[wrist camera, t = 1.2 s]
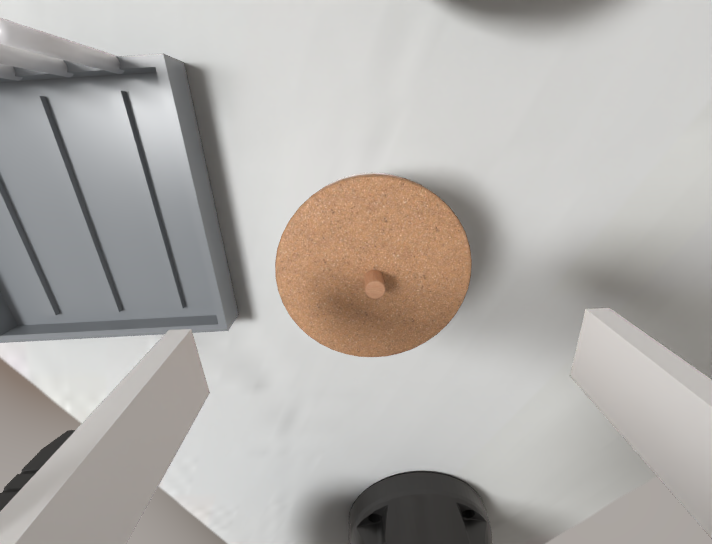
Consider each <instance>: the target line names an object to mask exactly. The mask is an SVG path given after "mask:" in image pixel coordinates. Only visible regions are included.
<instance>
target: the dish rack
mask: <svg viewBox="0 0 712 544" xmlns="http://www.w3.org/2000/svg"><path fill="white" fill-rule="evenodd" d="M238 315H239V314H238V310H237V305H236V300H235V296H234V291H233V287H232V282H231V277H230V273H229V268H228V264H227V259H226V254H225V250H224V245H223V240H222V236H221V231H220V227H219V222H218V217H217V213H216V208H215V203H214V199H213V194H212V190H211V185H210V180H209V176H208V171H207V166H206V162H205V157H204V153H203V148H202V143H201V139H200V134H199V129H198V125H197V120H196V116H195V111H194V106H193V102H192V97H191V92H190V88H189V83H188V79H187V74H186V69H185V65H184V62H182V61H179V60H177V59H175V58H172V57H170V56H168V55H165V54H149V55H134V56H119V57H118V56H115V55H112V54H109V53H106V52H103V51H100V50H97V49H94V48H91V47H88V46H85V45H82V44H79V43H76V42H73V41H70V40H67V39H64V38H61V37H58V36H54V35H51V34H48V33H45V32H42V31H39V30H36V29H33V28H30V27H27V26H24V25H21V24H18V23H15V22H12V21H9V20H6V19H3V18H0V343H5V342H25V341H44V340H63V339H82V338H101V337H120V336H139V335H158V334H166V332H167V331H168V330H181V329H191V330H192V333H196V332H215V331H228V330H229V329H230V327H231V325H232V324H233V322H234V321H235V319H236V318H237V316H238Z"/></svg>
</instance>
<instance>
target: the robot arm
mask: <svg viewBox="0 0 712 544" xmlns="http://www.w3.org/2000/svg"><path fill="white" fill-rule="evenodd" d="M570 377H571V378H572V379H573V380H574V381H575V383H576V384H577V385H578V386H579V387H580V388H581V389H582V391H583V392H584V393H585V394H586V395H587V396H588V397H589V399H590V400H591V401H592V402H593V403H594V404H595V405H596V407H597V408H598V409H599V410H600V411H601V412H602V414H603V415H604V416H605V417H606V418H607V419H608V420H609V422H610V423H611V424H612V425H613V426H614V427H615V428H616V430H617V431H618V432H619V433H620V434H621V435H622V436H623V438H624V439H625V440H626V441H627V442H628V443H629V445H630V446H631V447H632V448H633V449H634V450H635V451H636V453H637V454H638V455H639V456H640V457H641V458H642V459H643V461H644V462H645V463H646V464H647V465H648V466H649V467H650V469H651V470H652V471H653V472H654V473H655V474H656V476H657V477H658V478H659V479H660V480H661V481H662V482H663V483H664V485H665V486H666V487H667V488H668V489H669V490H670V492H671V493H672V494H673V495H674V496H675V497H676V498H677V500H678V501H679V502H680V503H681V504H682V505H683V507H684V508H685V509H686V510H687V511H688V512H689V513H690V514H691V516H692V517H693V518H694V519H695V520H696V521H697V523H698V524H699V525H700V526H701V527H702V528H703V529H704V531H705V532H706V533H707V534H708V535H709V536H710V538H711V539H712V379H710V378H709V377H707V376H706V375H704V374H703V373H702V372H700V371H699V370H697V369H696V368H695V367H693V366H692V365H690V364H689V363H687V362H686V361H685V360H683V359H682V358H680V357H679V356H677V355H676V354H675V353H673V352H672V351H670V350H669V349H667V348H666V347H665V346H663V345H662V344H660V343H659V342H657V341H656V340H655V339H653V338H652V337H650V336H649V335H647V334H646V333H645V332H643V331H642V330H640V329H639V328H637V327H636V326H635V325H633V324H632V323H630V322H629V321H628V320H626V319H625V318H623V317H622V316H620V315H619V314H618V313H616V312H615V311H613V310H612V309H610V308H594V309H586V310H585V314H584V318H583V322H582V326H581V331H580V335H579V339H578V343H577V347H576V352H575V356H574V360H573V364H572V368H571V373H570ZM209 393H210V392H209V389H208V385H207V382H206V378H205V375H204V372H203V368H202V365H201V361H200V358H199V354H198V351H197V347H196V344H195V341H194V337H193V334H192V330H191V329H181V330H168V331H167V332H166V334H165V335H164V336H163V337H162V338H161V339H160V340H159V341H158V342H157V343H156V344H155V345H154V346H153V348H152V349H151V350H150V351H149V352H148V353H147V354H146V355H145V356H144V357H143V358H142V359H141V360H140V362H139V363H138V364H137V365H136V366H135V367H134V368H133V369H132V370H131V371H130V372H129V373H128V374H127V376H126V377H125V378H124V379H123V380H122V381H121V382H120V383H119V384H118V385H117V386H116V387H115V389H114V390H113V391H112V392H111V393H110V394H109V395H108V396H107V397H106V398H105V399H104V400H103V401H102V403H101V404H100V405H99V406H98V407H97V408H96V409H95V410H94V411H93V412H92V413H91V414H90V415H89V417H88V418H87V419H86V420H85V421H84V422H83V423H82V424H81V425H80V426H79V427H78V428H77V429H76V430H70V431H67V432H65V433H64V434H62V435H61V436H60V437H58V438H57V439H55V440H54V441H53V442H51V443H50V444H49V445H47V446H46V447H44V448H43V449H42V450H41V451H40V452H39V453H38V454H37V455H36V456H35V457H34V458H33V459H32V460H31V461H30V462H29V463H28V464H27V465H26V466H25V467H24V468H23V469H22V472H21V474H17V475H16V477H14V478H13V479H12V480H11V481H10V482H9V483H8V484H7V486H6V487H5V488H4V491H3V492H2V493H0V544H127V542H128V540H129V538H130V536H131V534H132V533H133V531H134V529H135V527H136V525H137V524H138V522H139V520H140V518H141V516H142V515H143V513H144V511H145V509H146V507H147V506H148V504H149V502H150V500H151V498H152V497H153V495H154V493H155V491H156V489H157V487H158V486H159V484H160V482H161V480H162V478H163V477H164V475H165V473H166V471H167V469H168V467H169V466H170V464H171V462H172V460H173V458H174V457H175V455H176V453H177V451H178V449H179V448H180V446H181V444H182V442H183V440H184V438H185V437H186V435H187V433H188V431H189V429H190V428H191V426H192V424H193V422H194V420H195V419H196V417H197V415H198V413H199V411H200V409H201V408H202V406H203V404H204V402H205V400H206V399H207V397H208V395H209ZM349 543H350V544H492V533H491V526H490V522H489V519H488V516H487V513H486V510H485V508H484V505H483V502H482V500H481V498H480V496H479V495H478V494H477V492H476V491H475V490H474V489H473V488H471V487H470V486H469V485H467V484H466V483H464V482H462V481H460V480H458V479H456V478H453V477H450V476H447V475H443V474H437V473H427V472H417V473H407V474H401V475H397V476H393V477H390V478H387V479H384V480H382V481H380V482H378V483H376V484H374V485H372V486H371V487H369V488H368V489H367V490H365V491H364V492H363V493H362V494H361V495H360V496H359V497H358V498H357V499H356V501H355V502H354V504H353V506H352V508H351V511H350V516H349Z"/></svg>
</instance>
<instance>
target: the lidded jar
mask: <svg viewBox="0 0 712 544" xmlns="http://www.w3.org/2000/svg"><path fill="white" fill-rule="evenodd" d="M471 262H472V260H471V252H470V246H469V242H468V239H467V236H466V233H465V231H464V229H463V227H462V225H461V223H460V221H459V219H458V218H457V216H456V215H455V214H454V212H453V211H452V210H451V208H450V207H449V206H448V205H447V204H446V203H445V202H444V201H443V200H441V199H440V198H439V197H438V196H437V195H436V194H434V193H433V192H431V191H430V190H428V189H427V188H425V187H423V186H422V185H420V184H417V183H415V182H413V181H410V180H408V179H405V178H402V177H399V176H395V175H390V174H386V173H373V172H371V173H360V174H354V175H351V176H347V177H343V178H341V179H339V180H336V181H334V182H332V183H330V184H328V185H327V186H325V187H324V188H322V189H321V190H319V191H318V192H316V193H315V194H313V195H312V196H311V197H310V198H309V199H308V200H307V201H305V202H304V203H303V204H302V205H301V206H300V207H299V209H298V210H297V211H296V213H295V214H294V215H293V216H292V218H291V219H290V221H289V222H288V224H287V226H286V228H285V230H284V232H283V234H282V236H281V239H280V243H279V246H278V249H277V256H276V262H275V267H276V281H277V286H278V291H279V294H280V296H281V299H282V302H283V304H284V306H285V308H286V310H287V311H288V313H289V315H290V316H291V318H292V319H293V320H294V321H295V323H296V324H297V325H298V326H299V327H300V328H301V329H302V330H303V331H304V332H305V333H306V334H307V335H308V336H310V337H311V338H313V339H314V340H316V341H317V342H319V343H320V344H322V345H324V346H326V347H328V348H330V349H332V350H335V351H338V352H342V353H345V354H349V355H354V356H359V357H381V356H389V355H394V354H398V353H402V352H405V351H408V350H411V349H413V348H415V347H417V346H419V345H421V344H423V343H425V342H426V341H428V340H429V339H431V338H432V337H434V336H435V335H437V334H438V333H439V332H440V331H441V330H442V329H443V328H444V327H445V326H446V325H447V324H448V323H449V322H450V320H451V319H452V318H453V317H454V315H455V314H456V313H457V311H458V309H459V308H460V306H461V304H462V302H463V300H464V298H465V295H466V292H467V290H468V286H469V282H470V277H471Z"/></svg>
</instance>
